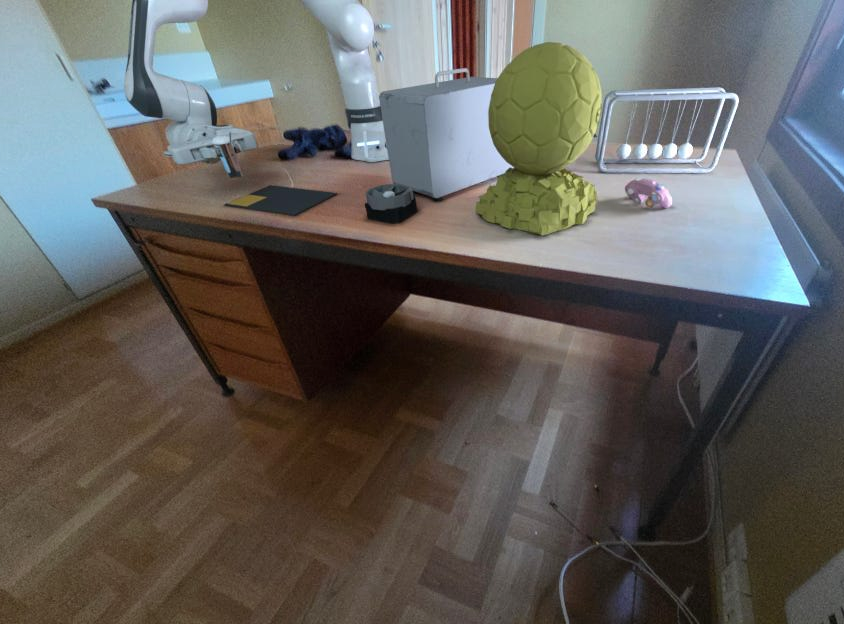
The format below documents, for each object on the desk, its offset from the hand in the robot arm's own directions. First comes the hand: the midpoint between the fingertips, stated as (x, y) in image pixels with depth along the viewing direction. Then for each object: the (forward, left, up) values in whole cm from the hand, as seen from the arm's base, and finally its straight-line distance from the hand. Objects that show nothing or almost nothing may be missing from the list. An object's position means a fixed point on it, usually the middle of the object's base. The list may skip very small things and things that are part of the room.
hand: (228, 151), depth 94 cm
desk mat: (-8, +1, -12) cm, 15 cm away
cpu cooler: (-37, +20, -12) cm, 44 cm away
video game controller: (-94, +31, -12) cm, 100 cm away
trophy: (-69, +29, -12) cm, 76 cm away
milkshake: (+1, -1, -6) cm, 6 cm away
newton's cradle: (-110, +6, -12) cm, 111 cm away
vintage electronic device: (-55, 0, -12) cm, 56 cm away
